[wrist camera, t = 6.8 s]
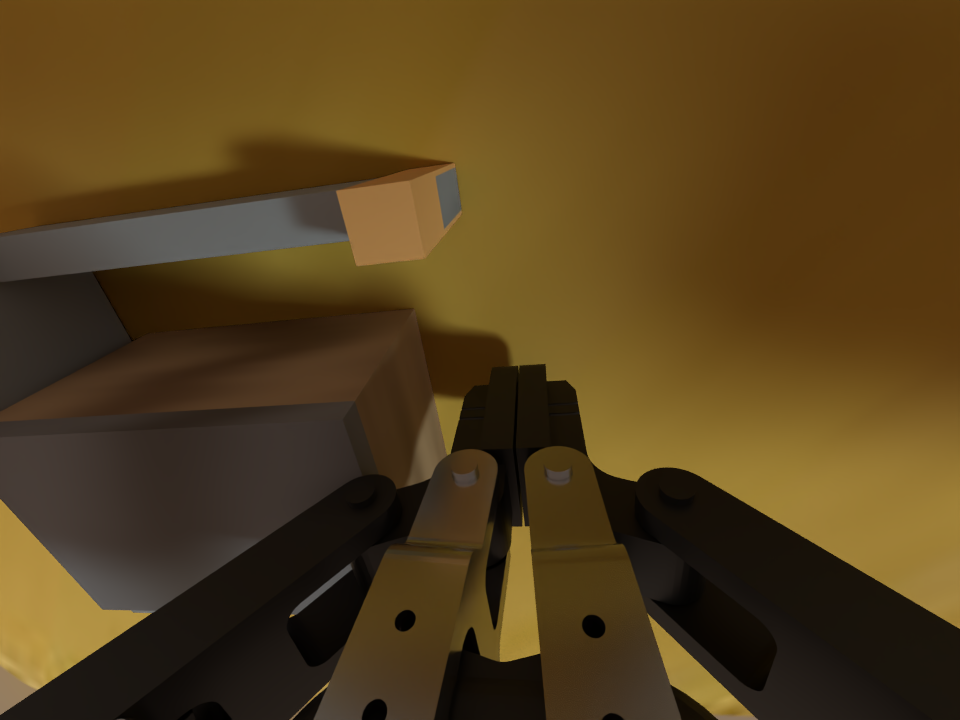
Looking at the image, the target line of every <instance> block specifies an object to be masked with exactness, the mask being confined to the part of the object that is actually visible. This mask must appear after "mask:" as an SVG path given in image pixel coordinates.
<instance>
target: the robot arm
mask: <svg viewBox="0 0 960 720" xmlns="http://www.w3.org/2000/svg"><path fill="white" fill-rule="evenodd" d="M523 513H524V521H525V526H529V527H530V538H531V554H532V566H533V577H534V588H535V599H536V610H537V621H538V632H539V643H540V654H537V655H533V656H529V657H525V658H521V659H517V660H513V661H508V662H500V636H501V628H502V621H503V613H504V605H505V597H506V590H507V582H508V574H509V566H510V557H511V554H510V545H511V533H512V526H522V514H523ZM349 564H350V565H351V567H352V570H351V571H349V572H348V573H347V574H346V575H344V576H343V577H342V578H341V579H340V580H338V581H337V582H336V583H335V584H333V585H332V586H331V587H330V588H329V589H327V590H326V591H325V592H324V593H322V594H321V595H320V596H319V597H317V598H316V599H315V600H314V601H313V602H311V603H310V604H309V605H308V606H306V607H305V608H304V609H303V610H302V611H300V612H299V613H298V614H296V615H295V616H293V617H290V615H291V613H292V612H293V611H294V609H295V608H296V607H297V606H298V605H299V604H300V603H302V602H303V601H304V600H305V599H307V598H308V597H309V596H310V595H311V594H313V593H314V592H315V591H316V590H318V589H319V588H320V587H321V586H323V585H324V584H325V583H326V582H328V581H329V580H330V579H331V578H333V577H334V576H335V575H336V574H338V573H339V572H340V571H341V570H343V569H344V568H345V567H346V566H348V565H349ZM647 613H648V614H649V615H650V616H651V617H652V618H653V619H654V620H655V621H656V622H657V623H658V624H659V625H660V626H661V627H662V628H663V629H664V630H665V631H666V632H667V633H668V634H670V635H671V636H672V637H673V638H674V639H675V640H676V641H677V642H678V643H679V644H680V645H681V646H682V647H683V648H684V649H685V650H686V651H687V652H688V653H689V654H690V655H691V656H692V657H693V658H694V659H696V660H697V661H698V662H699V663H700V664H701V665H702V666H703V667H704V668H705V669H706V670H707V671H708V672H709V673H710V674H711V675H712V676H713V677H714V678H715V679H716V680H717V681H718V682H719V683H721V684H722V685H723V686H724V687H725V688H726V689H727V690H728V691H729V692H730V693H731V694H732V695H733V696H734V697H735V698H736V699H737V700H738V701H739V702H740V703H741V704H742V705H743V706H744V707H745V708H747V709H748V710H749V711H750V712H751V713H752V714H753V715H754V716H755V717H756V718H757V719H758V720H960V629H959V628H957V627H955V626H954V625H952V624H950V623H949V622H947V621H945V620H943V619H942V618H940V617H938V616H937V615H935V614H933V613H932V612H930V611H928V610H926V609H925V608H923V607H921V606H920V605H918V604H916V603H914V602H913V601H911V600H909V599H908V598H906V597H904V596H903V595H901V594H899V593H897V592H896V591H894V590H892V589H891V588H889V587H887V586H886V585H884V584H882V583H880V582H879V581H877V580H875V579H874V578H872V577H870V576H868V575H867V574H865V573H863V572H862V571H860V570H858V569H857V568H855V567H853V566H851V565H850V564H848V563H846V562H845V561H843V560H841V559H840V558H838V557H836V556H834V555H833V554H831V553H829V552H828V551H826V550H824V549H822V548H821V547H819V546H817V545H816V544H814V543H812V542H811V541H809V540H807V539H805V538H804V537H802V536H800V535H799V534H797V533H795V532H794V531H792V530H790V529H788V528H787V527H785V526H783V525H782V524H780V523H778V522H776V521H775V520H773V519H771V518H770V517H768V516H766V515H765V514H763V513H761V512H759V511H758V510H756V509H754V508H753V507H751V506H749V505H747V504H746V503H744V502H742V501H741V500H739V499H737V498H736V497H734V496H732V495H730V494H729V493H727V492H725V491H724V490H722V489H720V488H719V487H717V486H715V485H713V484H712V483H710V482H708V481H707V480H705V479H703V478H701V477H700V476H698V475H696V474H694V473H691V472H689V471H686V470H682V469H677V468H657V469H653V470H650V471H648V472H646V473H644V474H643V475H642V476H641V477H640V478H639V479H638V481H637V482H635V481H630V480H625V479H621V478H617V477H614V476H611V475H608V474H606V473H604V472H603V471H601V470H600V469H598V468H597V467H596V466H595V465H594V464H593V463H592V462H591V461H590V459H589V457H588V455H587V451H586V446H585V440H584V435H583V429H582V423H581V418H580V412H579V407H578V401H577V395H576V390H575V389H574V388H573V387H572V386H571V385H570V384H569V383H568V382H567V381H566V380H563V381H546V366H545V364H537V365H522V366H520V367H519V370H518V366H508V367H492V370H491V376H490V382H489V385H479V386H474V387H473V388H472V389H471V390H470V391H469V392H468V393H467V395H466V396H465V398H464V402H463V406H462V410H461V414H460V420H459V422H458V426H457V430H456V434H455V438H454V442H453V446H452V450H451V454H449V455H448V456H446V457H444V458H443V459H442V460H441V461H440V462H439V463H438V464H437V466H436V467H435V469H434V472H433V474H432V477H431V478H430V479H428V480H425V481H423V482H420V483H417V484H413V485H410V486H406V487H402V488H399V489H396V486H395V484H394V482H393V481H392V480H391V479H390V478H388V477H387V476H384V475H379V474H370V475H364V476H360V477H358V478H355V479H353V480H351V481H349V482H347V483H346V484H344V485H343V486H341V487H340V488H338V489H337V490H335V491H334V492H332V493H331V494H329V495H328V496H326V497H325V498H323V499H322V500H320V501H319V502H317V503H316V504H314V505H313V506H311V507H310V508H308V509H307V510H305V511H304V512H302V513H301V514H299V515H298V516H296V517H295V518H293V519H292V520H291V521H289V522H288V523H286V524H285V525H283V526H282V527H280V528H279V529H277V530H276V531H274V532H273V533H271V534H270V535H268V536H267V537H265V538H264V539H262V540H261V541H259V542H258V543H256V544H255V545H253V546H252V547H250V548H249V549H247V550H246V551H244V552H243V553H241V554H240V555H238V556H237V557H235V558H234V559H232V560H231V561H229V562H228V563H226V564H225V565H223V566H222V567H220V568H219V569H217V570H216V571H214V572H213V573H211V574H210V575H208V576H207V577H205V578H204V579H203V580H201V581H200V582H198V583H197V584H195V585H194V586H192V587H191V588H189V589H188V590H186V591H185V592H183V593H182V594H180V595H179V596H177V597H176V598H174V599H173V600H171V601H170V602H168V603H167V604H165V605H164V606H162V607H161V608H159V609H158V610H156V611H155V612H153V613H152V614H150V615H149V616H147V617H146V618H144V619H143V620H141V621H140V622H138V623H137V624H135V625H134V626H132V627H131V628H129V629H128V630H126V631H125V632H123V633H122V634H120V635H119V636H118V637H116V638H115V639H113V640H112V641H110V642H109V643H107V644H106V645H104V646H103V647H101V648H100V649H98V650H97V651H95V652H94V653H92V654H91V655H89V656H88V657H86V658H85V659H83V660H82V661H80V662H79V663H77V664H76V665H74V666H73V667H71V668H70V669H68V670H67V671H65V672H64V673H62V674H61V675H59V676H58V677H56V678H55V679H53V680H52V681H50V682H49V683H47V684H46V685H44V686H43V687H41V688H40V689H38V690H37V691H36V692H34V693H33V694H31V695H30V696H28V697H27V698H25V699H24V700H22V701H21V702H19V703H18V704H16V705H15V706H13V707H12V708H10V709H9V710H7V711H6V712H4V713H3V714H1V715H0V720H289V719H290V718H292V717H293V715H295V714H296V713H297V712H298V711H299V710H300V709H301V708H302V707H303V706H304V705H305V704H306V703H307V702H308V701H309V700H310V699H311V698H312V697H313V696H314V695H315V694H316V693H317V692H319V691H320V690H321V689H322V688H323V687H324V686H325V685H326V684H327V683H328V682H329V681H330V682H329V685H328V687H327V688H326V689H324V690H323V691H322V692H321V693H320V694H318V695H317V696H316V697H315V698H314V699H313V700H312V701H311V702H310V703H308V704H307V705H306V706H305V708H303V709H302V710H301V711H300V712H299V714H298V715H297V716H296V717H295V718H294V719H293V720H718V719H716V717H714V716H713V715H712V714H711V713H710V712H709V711H708V710H707V709H705V708H704V707H703V706H702V705H700V704H699V703H698V702H696V701H695V700H694V699H692V698H691V697H690V696H688V695H687V694H685V693H684V692H682V691H680V690H679V689H677V688H675V687H674V686H672V685H670V682H669V679H668V676H667V673H666V670H665V667H664V664H663V661H662V658H661V654H660V651H659V648H658V645H657V642H656V639H655V636H654V633H653V630H652V627H651V623H650V620H649V617H648V614H647ZM289 617H290V618H289Z"/></svg>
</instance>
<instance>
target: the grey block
mask: <svg viewBox="0 0 960 720" xmlns="http://www.w3.org/2000/svg"><path fill="white" fill-rule="evenodd" d="M446 456H447V454H446V449H445V445H444V440H443V436H442V431H441V427H440V422H439V417H438V413H437V408H436V404H435V399H434V395H433V390H432V386H431V381H430V377H429V372H428V368H427V363H426V359H425V354H424V349H423V345H422V340H421V336H420V331H419V327H418V322H417V318H416V313H415V309H404V310H393V311H383V312H372V313H361V314H350V315H340V316H329V317H318V318H307V319H296V320H286V321H275V322H264V323H253V324H242V325H232V326H221V327H210V328H199V329H188V330H178V331H167V332H156V333H148V334H146V335H144V336H142V337H140V338H138V339H136V340H134V341H132V342H131V343H129V344H127V345H125V346H123V347H121V348H119V349H117V350H115V351H114V352H112V353H110V354H108V355H106V356H104V357H102V358H100V359H98V360H97V361H95V362H93V363H91V364H89V365H87V366H85V367H83V368H81V369H80V370H78V371H76V372H74V373H72V374H70V375H68V376H66V377H64V378H63V379H61V380H59V381H57V382H55V383H53V384H51V385H49V386H47V387H46V388H44V389H42V390H40V391H38V392H36V393H34V394H32V395H30V396H29V397H27V398H25V399H23V400H21V401H19V402H17V403H15V404H13V405H12V406H10V407H8V408H6V409H4V410H2V411H0V499H1V500H2V501H3V502H4V503H5V504H6V505H7V507H8V508H9V509H10V510H11V511H12V512H13V513H14V514H15V515H16V516H17V517H18V518H19V520H20V521H21V522H22V523H23V524H24V525H25V526H26V527H27V528H28V529H29V530H30V531H31V533H32V534H33V535H34V536H35V537H36V538H37V539H38V540H39V541H40V542H41V543H42V544H43V546H44V547H45V548H46V549H47V550H48V551H49V552H50V553H51V554H52V555H53V556H54V557H55V559H56V560H57V561H58V562H59V563H60V564H61V565H62V566H63V567H64V568H65V569H66V570H67V572H68V573H69V574H70V575H71V576H72V577H73V578H74V579H75V580H76V581H77V582H78V583H79V585H80V586H81V587H82V588H83V589H84V590H85V591H86V592H87V593H88V594H89V595H90V596H91V598H92V599H93V600H94V601H95V602H96V603H97V604H98V605H99V606H100V607H101V608H102V609H103V610H143V611H156V610H158V609H159V608H161V607H162V606H164V605H165V604H167V603H168V602H170V601H171V600H173V599H174V598H176V597H177V596H179V595H180V594H182V593H183V592H185V591H186V590H188V589H189V588H191V587H192V586H194V585H195V584H197V583H198V582H200V581H201V580H203V579H204V578H205V577H207V576H208V575H210V574H211V573H213V572H214V571H216V570H217V569H219V568H220V567H222V566H223V565H225V564H226V563H228V562H229V561H231V560H232V559H234V558H235V557H237V556H238V555H240V554H241V553H243V552H244V551H246V550H247V549H249V548H250V547H252V546H253V545H255V544H256V543H258V542H259V541H261V540H262V539H264V538H265V537H267V536H268V535H270V534H271V533H273V532H274V531H276V530H277V529H279V528H280V527H282V526H283V525H285V524H286V523H288V522H289V521H291V520H292V519H293V518H295V517H296V516H298V515H299V514H301V513H302V512H304V511H305V510H307V509H308V508H310V507H311V506H313V505H314V504H316V503H317V502H319V501H320V500H322V499H323V498H325V497H326V496H328V495H329V494H331V493H332V492H334V491H335V490H337V489H338V488H340V487H341V486H343V485H344V484H346V483H347V482H349V481H351V480H353V479H355V478H358V477H360V476H364V475H370V474H379V475H384V476H387V477H388V478H390V479H391V480H392V481H393V482H394V484H395V486H396V489H399V488H402V487H406V486H410V485H413V484H417V483H420V482H423V481H425V480H428V479H430V478H431V477H432V474H433V472H434V469H435V467H436V466H437V464H438V463H439V462H440V461H441V460H442V459H443V458H444V457H446ZM351 570H352V567H351V565H350V564H349V565H348V566H346V567H345V568H344V569H343V570H341V571H340V572H339V573H338V574H336V575H335V576H334V577H333V578H331V579H330V580H329V581H328V582H326V583H325V584H324V585H323V586H321V587H320V588H319V589H318V590H316V591H315V592H314V593H313V594H311V595H310V596H309V597H308V598H307V599H305V600H304V601H303V602H302V603H300V604H299V605H298V606H297V607H296V608H295V609H294V611H293V612H292V613H291V614H298V613H299V612H300V611H302V610H303V609H304V608H305V607H306V606H308V605H309V604H310V603H311V602H313V601H314V600H315V599H316V598H317V597H319V596H320V595H321V594H322V593H324V592H325V591H326V590H327V589H329V588H330V587H331V586H332V585H333V584H335V583H336V582H337V581H338V580H340V579H341V578H342V577H343V576H344V575H346V574H347V573H348V572H349V571H351Z"/></svg>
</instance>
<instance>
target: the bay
mask: <svg viewBox="0 0 960 720" xmlns="http://www.w3.org/2000/svg"><path fill="white" fill-rule="evenodd" d="M461 215H462V210H461V203H460V196H459V189H458V182H457V175H456V169H455V163H450V164H443V165H436V166H429V167H422V168H415V169H408V170H404V171H401V172H398V173H394V174H391V175H388V176H384V177H381V178H376V179H369V180H362V181H355V182H348V183H341V184H334V185H327V186H320V187H313V188H306V189H299V190H292V191H284V192H277V193H270V194H263V195H256V196H249V197H242V198H235V199H228V200H221V201H214V202H207V203H200V204H193V205H186V206H179V207H171V208H164V209H157V210H150V211H143V212H136V213H129V214H122V215H115V216H108V217H101V218H94V219H87V220H80V221H73V222H66V223H58V224H51V225H44V226H37V227H31V228H26V229H21V230H16V231H10V232H5V233H0V411H2V410H4V409H6V408H8V407H10V406H12V405H13V404H15V403H17V402H19V401H21V400H23V399H25V398H27V397H29V396H30V395H32V394H34V393H36V392H38V391H40V390H42V389H44V388H46V387H47V386H49V385H51V384H53V383H55V382H57V381H59V380H61V379H63V378H64V377H66V376H68V375H70V374H72V373H74V372H76V371H78V370H80V369H81V368H83V367H85V366H87V365H89V364H91V363H93V362H95V361H97V360H98V359H100V358H102V357H104V356H106V355H108V354H110V353H112V352H114V351H115V350H117V349H119V348H121V347H123V346H125V345H127V344H129V343H131V342H132V341H131V339H130V337H129V336H128V334H127V332H126V330H125V329H124V327H123V325H122V323H121V322H120V320H119V318H118V316H117V315H116V313H115V311H114V309H113V308H112V306H111V304H110V302H109V301H108V299H107V297H106V295H105V294H104V292H103V290H102V289H101V287H100V285H99V283H98V282H97V280H96V278H95V276H94V275H93V273H92V271H99V270H108V269H116V268H124V267H133V266H141V265H150V264H158V263H166V262H175V261H183V260H192V259H200V258H209V257H217V256H225V255H234V254H242V253H251V252H259V251H267V250H276V249H284V248H293V247H301V246H309V245H318V244H326V243H335V242H343V241H350V244H351V248H352V251H353V255H354V259H355V262H356V266H363V265H372V264H381V263H390V262H400V261H409V260H418V259H425V258H426V257H427V256H428V254H429V253H430V252H431V251H432V250H433V248H434V247H435V246H436V245H437V244H438V242H439V241H440V240H441V239H442V238H443V236H444V235H445V234H446V233H447V232H448V230H449V229H450V228H451V227H452V226H453V224H454V223H455V222H456V221H457V219H458V218H459V217H460V216H461ZM132 611H133V612H136V613H153V612H155V611H143V610H132Z"/></svg>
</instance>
